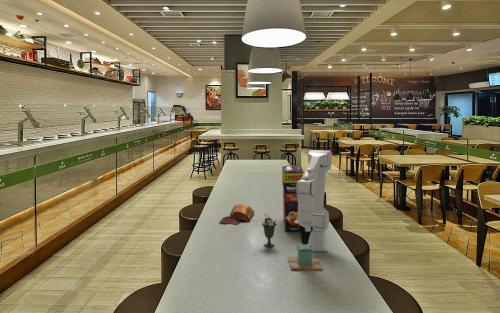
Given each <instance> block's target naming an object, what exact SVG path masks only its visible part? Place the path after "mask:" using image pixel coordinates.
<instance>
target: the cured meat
mask: <svg viewBox="0 0 500 313" xmlns="http://www.w3.org/2000/svg"><path fill="white" fill-rule="evenodd" d="M254 215H255V210H254V209H253V208H252V207H250V206H249V205H246V204H243V203H242V204H241V203H239V204H236V205H234V206H233V207H232V209H231V211H230V213H229V215H228V216H227V215H226V216H224V217H223V218H221V220H219V222H218V223H220V224H228V225H230V224H231V225H236V226H238V225H239V224H241V223H240V220H241V221H243V222H246V223H250V222H251V220H252V219H253V217H254Z"/></svg>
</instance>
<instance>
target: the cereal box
mask: <svg viewBox="0 0 500 313" xmlns="http://www.w3.org/2000/svg"><path fill="white" fill-rule="evenodd" d="M303 174H304V170H303V169H302V166H300V165H295V164H292V165H291V164H290V165H289V164H288V165H285V166H282V167H281V175H282V176H281V177H282V178H281V179H282V180H281V182H282V214H283V215H282V218H283V226H284V227H283V228H284V231H285V233H286V232H287V233H300V231H299V228H298V225H299V224H296V223H295V221H298V199H297V192H296V185H297V182H298V181H299V180H301V178H302V176H303Z"/></svg>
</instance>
